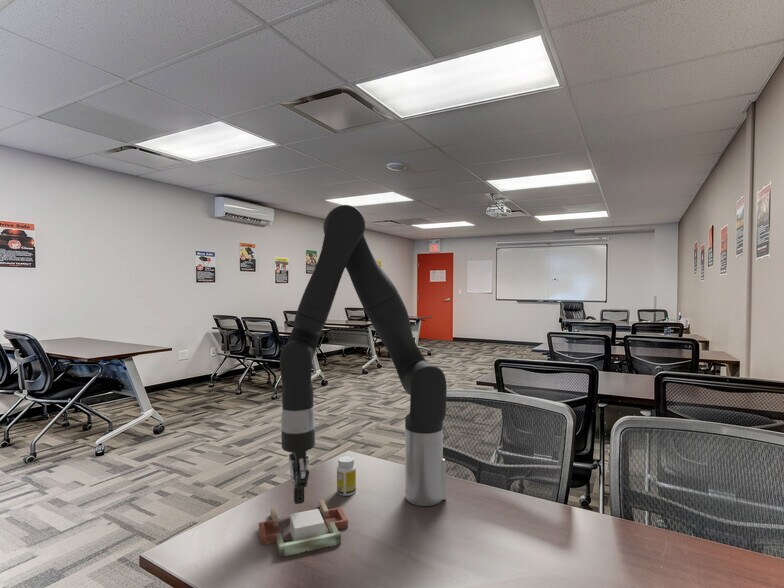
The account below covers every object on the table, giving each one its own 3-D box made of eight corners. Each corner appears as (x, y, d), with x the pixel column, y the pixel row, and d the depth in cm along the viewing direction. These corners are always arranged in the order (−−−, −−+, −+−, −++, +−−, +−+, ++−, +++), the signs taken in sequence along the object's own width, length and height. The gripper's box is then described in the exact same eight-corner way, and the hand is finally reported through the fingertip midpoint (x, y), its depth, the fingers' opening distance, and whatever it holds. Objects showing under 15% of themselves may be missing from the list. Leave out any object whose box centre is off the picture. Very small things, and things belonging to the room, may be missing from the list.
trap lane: (335, 502, 103) (335, 494, 103) (355, 540, 87) (355, 531, 87) (256, 517, 97) (256, 508, 97) (263, 561, 81) (263, 550, 81)
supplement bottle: (357, 488, 111) (357, 455, 111) (354, 496, 106) (353, 462, 106) (339, 487, 111) (339, 455, 111) (335, 496, 107) (334, 462, 107)
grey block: (318, 527, 93) (318, 508, 93) (324, 542, 87) (324, 522, 87) (290, 532, 91) (290, 514, 91) (294, 548, 85) (294, 528, 85)
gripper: (320, 433, 94) (321, 512, 94) (309, 417, 106) (309, 487, 106) (285, 437, 91) (286, 519, 91) (278, 420, 103) (278, 492, 103)
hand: (299, 501), depth 99 cm, fingers closed
